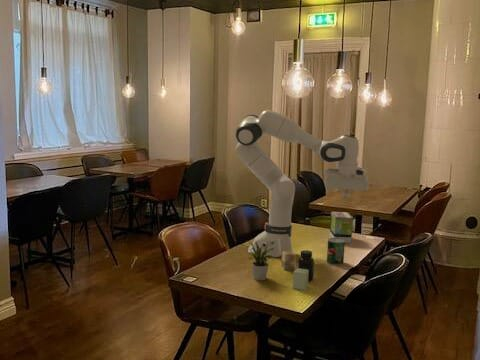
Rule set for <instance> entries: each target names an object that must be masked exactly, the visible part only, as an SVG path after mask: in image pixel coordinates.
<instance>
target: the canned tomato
mask: <svg viewBox="0 0 480 360" xmlns="http://www.w3.org/2000/svg"><path fill="white" fill-rule="evenodd" d="M345 245H346V243H345V240H343V239H339V238H331V237H329V238H328V239H327V249H326V250H327V251H326V252H327V253H326V263H327V264H329V265H332V266H342V265H344V261H345V259H344V258H345Z"/></svg>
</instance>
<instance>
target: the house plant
mask: <svg viewBox="0 0 480 360" xmlns="http://www.w3.org/2000/svg"><path fill="white" fill-rule="evenodd" d="M263 242H264V241H263ZM248 243H249V245H248V248H249V247H250V246H251V245H252V247H253V248H252V249H253V251H254V252H255V254H254V253H253V252H252V253H249V255H250V256H249V257H248V260H247V261H250V260H253V259H254V261H253V262H252V263H251V266H252V276H253V279H254V280H258V281H264V280H266V278H267V274H268V269H269V263H268V260H270V259H272V258H273V259H274V258H275V257H272V255H267V256H266V254H267V253H268V252H269V251H270V250H271V249H272V248H273V247H275V246H273V247H272V248H270V249H268V250H266V249H267V246H268V244H267V246H266V248H265V250H264V252H262V255H261V250H262V247H261V248H259V246H258V244H257V242H255V243H256V246H257V250H256V251H255V248H254V246H253V242H252V243H251V242H250V241H248ZM264 245H265V244H264ZM250 250H251V249H250ZM251 251H252V250H251ZM256 252H257V253H256ZM266 252H267V253H266Z"/></svg>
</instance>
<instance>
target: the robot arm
mask: <svg viewBox="0 0 480 360" xmlns="http://www.w3.org/2000/svg"><path fill="white" fill-rule="evenodd" d="M237 126H238V127H237V128H236V131H235V137H236V140H237V144H236V146H235V150H234V152H235V153H236V154H237V156H238V158H239V159H240V161H241V162H242V163H243V164H244V165H245V167H247V169H248V170H250V172H251V173H252V174H253V175H254V176H256V178H257V179H258V180H259V181H260V182H261V183H262V184H263V185H264V186H265V187H266V188H267V189H268V190H269V191H270V192H271V196H270V197H271V200H270V205H269V210H268V212H269V213H268V214H269V215H268V222H265V223H264V231H262V232H261V233H259V234H257V236H255V237H254V238H253V242H252V245H253V246H254V248H255V251H256V250H257V246H256V243H255V242H257V244H258V246H259V248H261V247H262V250H261V255H262V252H264V250H265V248H266V246H267V244H268V246H267V249H266V250H268V249H270V248H272V247H273V246H275V247H273V248H272V249H271V250H270V251H269V252H268V253H267V252H266V253H267V254H266V256H267V255H272V256H271V257H274V258H279V257H281V258H282V251H293V246H292V240H291V239H292V233H293V232H292V230H293V228H292V227H293V226H292V211H293V204H294V200H295V199H294V198H295V193H296V185H295V183H294V182H293V180H292V179H291V178H290V177H288V176H287V175H286V174H285V173H284V172H283V171H282V170H281V168H279V166H278V165H277V164H276V162H274V161H273V160H272V159H271V158H270V156H268V154H267V153H266V152H265V151H264V149H262V147H260V146H259V145H258V143H257V142H258V140H260V138H261V137H262V136H263V134H267V135H270V136H271V137H273V138H275V139H278V140H279V141H283V142H285V143H295V144H299V145H302V146H304V147H305V148H308V149H311V150H313V152H314V153H316V154H317V155H318V156H319V158H320V159H322V160H323V161H324V162H327V163H334V162H338V166H337V168H328V169H326V170H325V174H324V176H325V181H324V187H325V188H327V189H336V190H337V189H338V190H340V193H341V195H342V197H341V199H343V200H344V199H345V200H349V199H350V195H351V193H352V191H360V192H367V191H368V190H369V186H370V184H369V183H370V182H369V177H368V175H367V173H368V170H367V169H365V168H362V167H360V166H358V165H359V164H358V158H359V149H360V145H359V139H358V138H357V137H355V136H352V135H347V134H342V135H341V136H339V137H337V138H335V139H332V140H330V139H320V138H319V137H316V136H314V135H312V134H310V133H309V132H307V131H305V130H304V129H303V128H302V126H300V125H299V124H298V123H297V122H296V121H294V120H293V119H291V117H288V116H286V115H285V114H282V113H279V112H276V111H274V110H270V109H266V110H263V111H262V112H261V113H260V114H259V115H256V114H248V115H246V116H244V117H243V118H242V120H240V122H239V124H238V125H237ZM345 190H348V194H345V193H344V191H345ZM263 241H264V242H263ZM264 244H265V245H264ZM252 245H251V244H250V245H249V246H250V247H249V246H248V247H247V251H248V253H249V254H250V253H252V252H253V253H254V254H255V252H254V251H253V249H252V248H253V247H252ZM250 249H251V250H252V251H251V250H250ZM256 253H257V252H256ZM255 255H256V254H255Z"/></svg>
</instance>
